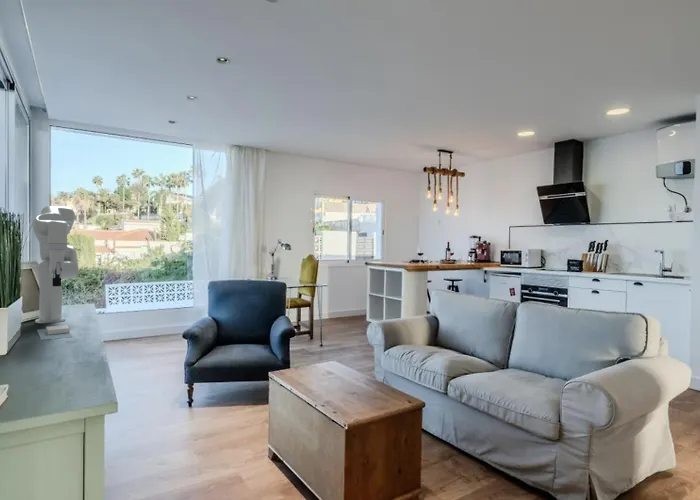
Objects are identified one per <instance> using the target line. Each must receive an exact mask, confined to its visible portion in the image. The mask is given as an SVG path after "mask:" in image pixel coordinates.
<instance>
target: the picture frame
mask: <svg viewBox="0 0 700 500" xmlns="http://www.w3.org/2000/svg"><path fill="white" fill-rule="evenodd" d="M45 329H46V332H47V334H48V335H50V334H59V333H70V330H71V329H70V326H69V325H68V324H61V325H59V324H58V325H50V326H45Z"/></svg>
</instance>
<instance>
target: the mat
mask: <svg viewBox="0 0 700 500" xmlns="http://www.w3.org/2000/svg"><path fill="white" fill-rule="evenodd" d="M36 331H37V333H38V335H39V338H40V340H41V341H45V340H48V341H51V340H55V339H58V340H59V339H64V338H66V339H69V338H73V336H72V334H71V333H70V332H69V333H59V334H50V335H48V334H47V332H46V328H40V329H36Z"/></svg>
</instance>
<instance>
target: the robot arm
mask: <svg viewBox="0 0 700 500" xmlns="http://www.w3.org/2000/svg"><path fill="white" fill-rule="evenodd" d="M40 211H41V212H40V214H39V215H36V216H35V217H34V218H33V220H32V229H33V232H34V235H35V237H36V239H37V241H38V243H39V257H40V259H41V261H42V262H39V264H38V265H37V275H38V283H39V285H38V287H39V296H38V297H39V302H38V305H39V306H38V307H39V312H38V314H39V315H38V318H36V319H35V323H36V324H55V323H61V322H65V321H66V318H65V317H63V315H62V313H63V311H62V308H63V306H62V305H63V288H62V280H64V279H75V278H77V277H78V275H79V272H80V271H79V270H80V269H79V263H78V256H77V255H78V254H77V250H76V248H75V247H74V246H72V245H68V235H69V234H70V233H71V230H72V229H73V225H74V221H75V217H76V216H75V211H74V209H73V208H72V207H69V206H60V205H58V206H56V205H48V206H45V207H43V208H42V209H41V210H40Z"/></svg>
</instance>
